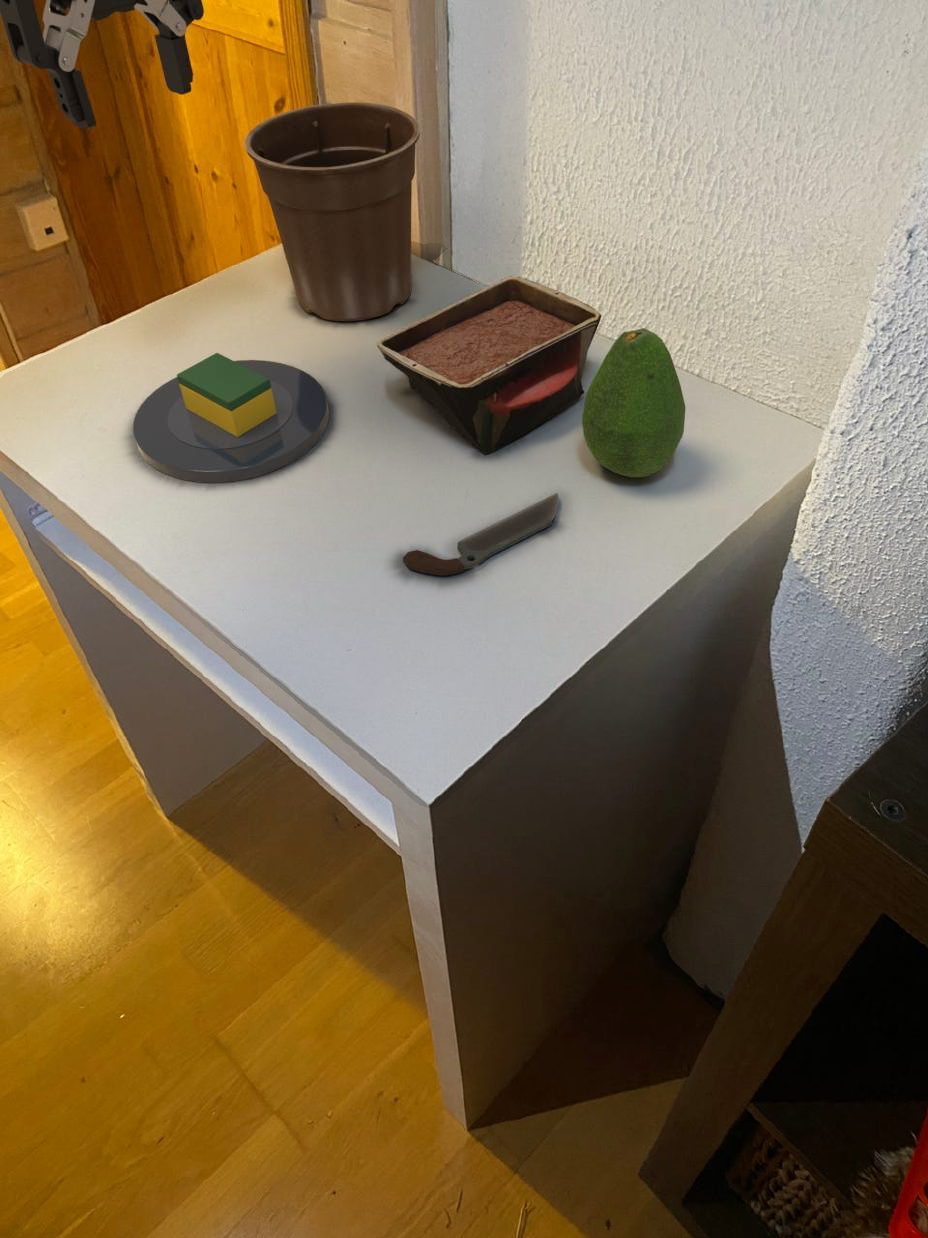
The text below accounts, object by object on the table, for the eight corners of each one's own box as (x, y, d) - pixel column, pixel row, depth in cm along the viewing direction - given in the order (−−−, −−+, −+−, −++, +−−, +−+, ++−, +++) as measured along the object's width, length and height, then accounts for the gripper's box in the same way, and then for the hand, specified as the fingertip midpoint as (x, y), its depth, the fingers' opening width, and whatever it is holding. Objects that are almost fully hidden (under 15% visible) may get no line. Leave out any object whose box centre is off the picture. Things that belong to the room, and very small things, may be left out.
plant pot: (288, 346, 91) (256, 177, 79) (265, 272, 102) (234, 114, 90) (447, 318, 94) (439, 151, 82) (409, 249, 104) (397, 92, 92)
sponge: (237, 437, 79) (228, 402, 76) (186, 408, 82) (176, 374, 79) (277, 413, 81) (269, 378, 78) (225, 386, 84) (216, 351, 82)
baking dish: (378, 411, 86) (356, 324, 78) (525, 322, 91) (519, 230, 83) (473, 497, 79) (459, 410, 71) (627, 394, 84) (631, 302, 76)
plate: (220, 510, 74) (216, 497, 73) (97, 432, 82) (93, 420, 81) (368, 412, 83) (366, 400, 82) (244, 351, 90) (241, 339, 90)
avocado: (635, 428, 80) (652, 298, 71) (695, 476, 75) (720, 343, 66) (559, 459, 77) (566, 328, 68) (616, 511, 72) (631, 377, 64)
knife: (429, 591, 67) (429, 584, 66) (400, 560, 69) (399, 554, 69) (578, 514, 72) (579, 508, 72) (547, 489, 74) (547, 482, 74)
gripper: (117, -197, 62) (179, 72, 74) (-84, -167, 55) (21, 126, 67) (187, -191, 58) (240, 91, 70) (-19, -158, 51) (80, 150, 63)
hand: (133, 108), depth 68 cm, fingers open, 8 cm apart
